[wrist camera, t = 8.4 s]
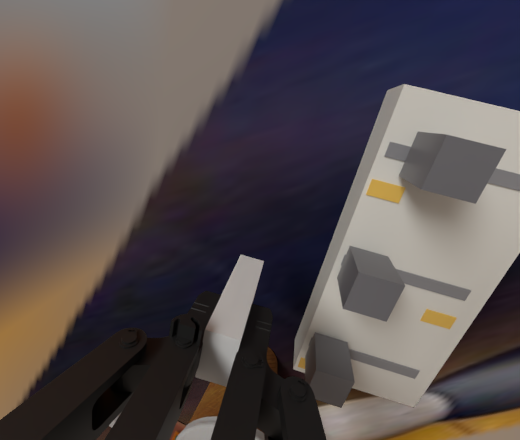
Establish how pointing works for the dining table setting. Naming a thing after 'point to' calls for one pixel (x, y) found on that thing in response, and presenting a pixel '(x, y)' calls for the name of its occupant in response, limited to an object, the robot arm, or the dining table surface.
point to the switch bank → (419, 245)
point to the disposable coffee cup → (214, 410)
